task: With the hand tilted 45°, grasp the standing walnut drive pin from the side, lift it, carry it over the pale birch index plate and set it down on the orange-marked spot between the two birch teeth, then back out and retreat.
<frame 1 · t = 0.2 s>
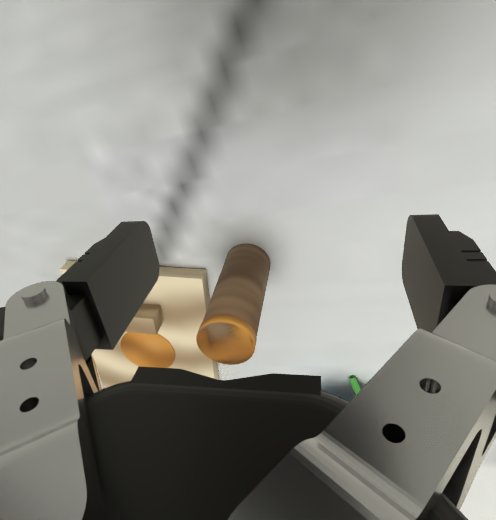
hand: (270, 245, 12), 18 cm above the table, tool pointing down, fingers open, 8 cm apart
index plate: (153, 339, 42), on the table
drive pin: (248, 262, 34), on the table
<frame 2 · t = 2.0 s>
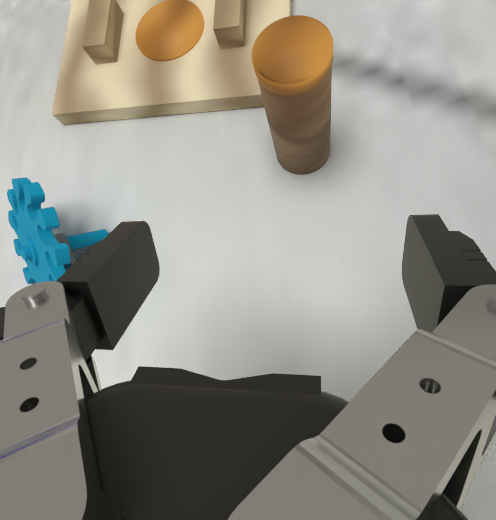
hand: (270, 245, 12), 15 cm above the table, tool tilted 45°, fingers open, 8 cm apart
index plate: (176, 44, 33), on the table
drive pin: (302, 149, 29), on the table
gear: (77, 268, 31), on the table
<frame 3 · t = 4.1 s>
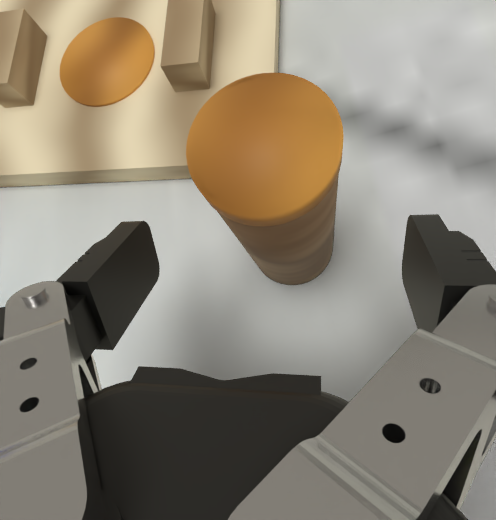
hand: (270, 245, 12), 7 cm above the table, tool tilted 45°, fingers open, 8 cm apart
index plate: (120, 79, 24), on the table
drive pin: (292, 246, 19), on the table
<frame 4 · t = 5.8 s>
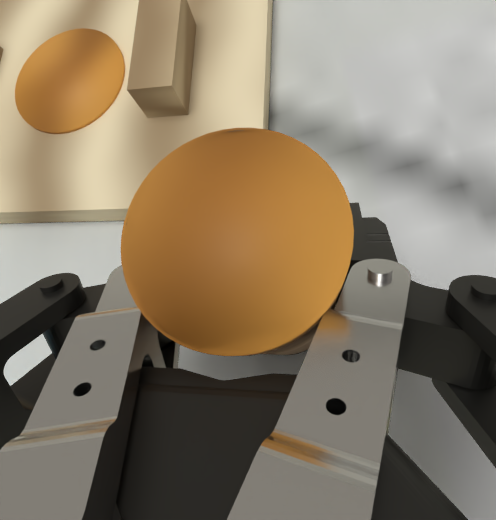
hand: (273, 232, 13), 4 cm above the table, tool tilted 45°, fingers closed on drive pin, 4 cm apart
index plate: (87, 99, 21), on the table
drive pin: (284, 306, 16), on the table, touching gripper
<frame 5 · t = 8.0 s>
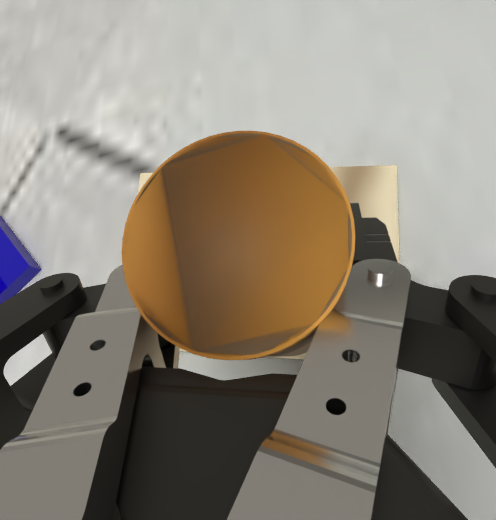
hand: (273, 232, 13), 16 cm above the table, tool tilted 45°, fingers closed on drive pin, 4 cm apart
index plate: (257, 262, 29), on the table
drive pin: (285, 307, 16), point 12 cm above the table, touching gripper
when the fingers open (7 cm above the table, at t = 10.5 s): drive pin stays where it is, resting on index plate.
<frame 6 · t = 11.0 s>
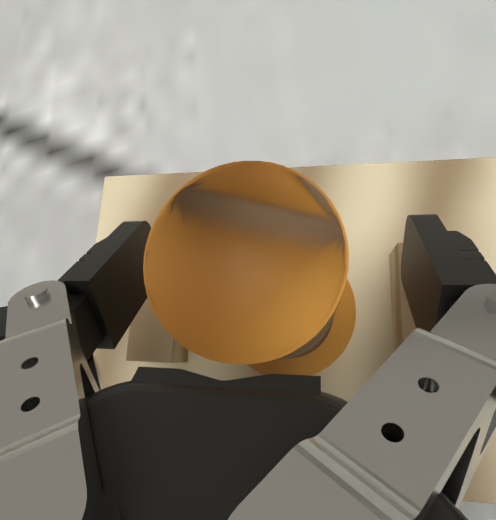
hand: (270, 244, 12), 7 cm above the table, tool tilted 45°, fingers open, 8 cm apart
index plate: (289, 313, 19), on the table
drive pin: (287, 311, 17), point 2 cm above the table, touching index plate
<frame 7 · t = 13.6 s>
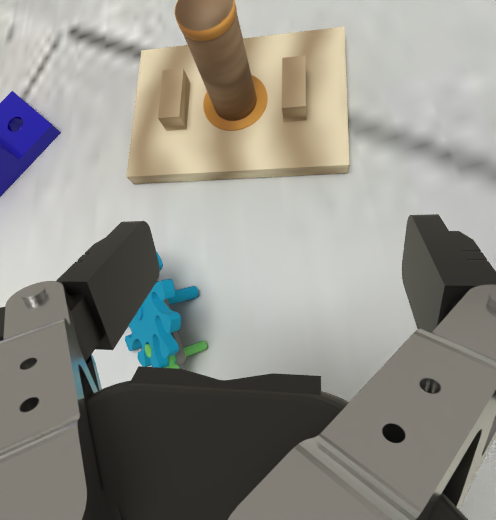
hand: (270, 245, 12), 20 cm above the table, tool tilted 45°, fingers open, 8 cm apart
index plate: (238, 111, 37), on the table
drive pin: (235, 101, 35), point 2 cm above the table, touching index plate
gear: (164, 316, 33), on the table
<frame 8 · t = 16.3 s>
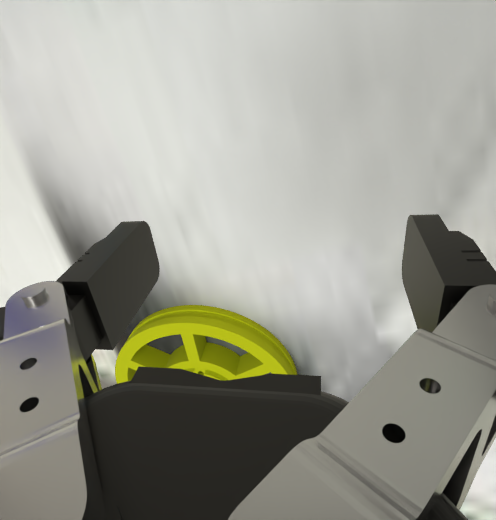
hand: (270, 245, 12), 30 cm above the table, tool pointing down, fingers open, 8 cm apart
pulley: (210, 372, 61), on the table
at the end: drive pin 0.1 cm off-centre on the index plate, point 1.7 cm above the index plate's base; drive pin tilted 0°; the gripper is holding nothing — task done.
